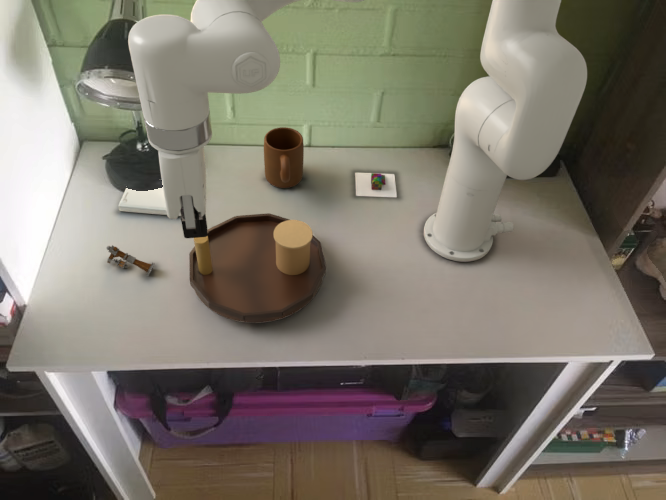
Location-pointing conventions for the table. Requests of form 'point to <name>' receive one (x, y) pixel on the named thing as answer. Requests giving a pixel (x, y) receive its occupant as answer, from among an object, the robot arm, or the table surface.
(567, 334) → the table surface
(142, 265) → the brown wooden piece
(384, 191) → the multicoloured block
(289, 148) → the mug
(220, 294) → the tray
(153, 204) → the hard drive
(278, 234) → the tan cylinder
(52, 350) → the table surface
